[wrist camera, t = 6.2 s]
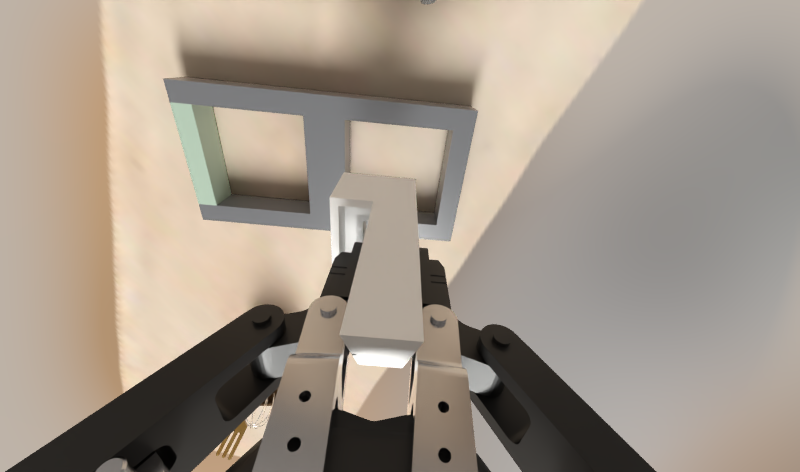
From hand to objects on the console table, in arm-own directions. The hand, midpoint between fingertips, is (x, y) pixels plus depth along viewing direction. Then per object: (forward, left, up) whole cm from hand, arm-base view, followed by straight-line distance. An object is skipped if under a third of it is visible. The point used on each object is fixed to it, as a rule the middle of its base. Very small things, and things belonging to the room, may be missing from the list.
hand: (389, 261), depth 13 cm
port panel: (0, -6, -14) cm, 15 cm away
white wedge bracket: (0, -1, -4) cm, 4 cm away
